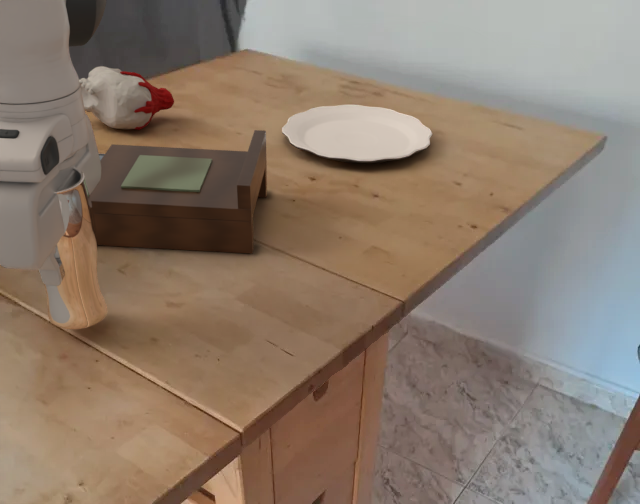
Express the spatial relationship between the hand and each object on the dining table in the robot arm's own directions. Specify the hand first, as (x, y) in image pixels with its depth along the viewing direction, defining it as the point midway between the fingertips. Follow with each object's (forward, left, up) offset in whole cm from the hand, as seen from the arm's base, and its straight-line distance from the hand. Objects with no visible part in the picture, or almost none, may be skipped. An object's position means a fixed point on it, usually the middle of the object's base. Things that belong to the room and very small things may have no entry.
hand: (66, 262), depth 69 cm
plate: (+30, +58, -8) cm, 66 cm away
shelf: (+6, +27, -8) cm, 29 cm away
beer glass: (0, 0, -6) cm, 6 cm away
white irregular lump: (-9, +60, -8) cm, 61 cm away
